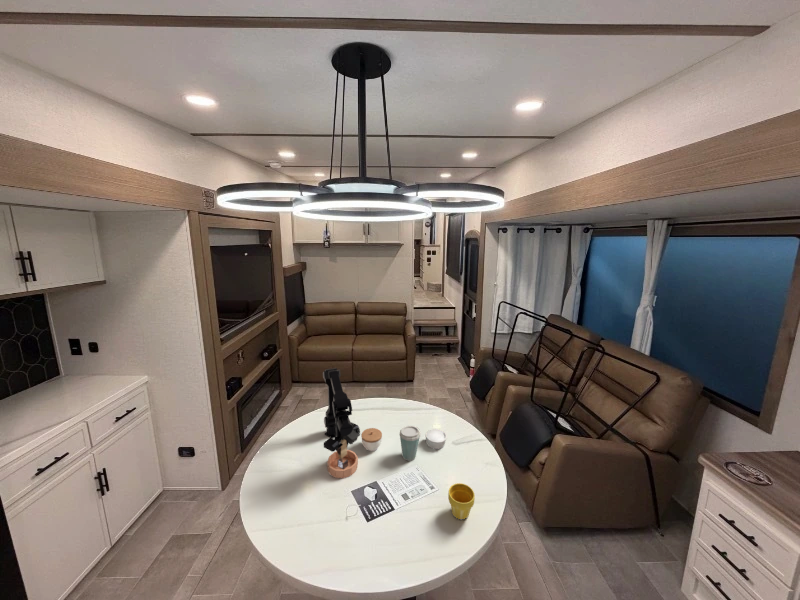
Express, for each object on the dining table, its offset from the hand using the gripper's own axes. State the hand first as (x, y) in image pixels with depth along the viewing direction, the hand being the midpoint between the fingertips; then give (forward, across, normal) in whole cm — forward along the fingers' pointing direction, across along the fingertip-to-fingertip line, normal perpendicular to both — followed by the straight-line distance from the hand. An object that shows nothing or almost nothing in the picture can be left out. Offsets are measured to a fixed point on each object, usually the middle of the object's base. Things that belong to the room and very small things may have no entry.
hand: (342, 451), depth 150 cm
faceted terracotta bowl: (+8, 0, 0) cm, 9 cm away
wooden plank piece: (+2, 0, 0) cm, 2 cm away
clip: (+8, 0, 0) cm, 9 cm away
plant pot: (+9, +7, -57) cm, 58 cm away
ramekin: (+9, +40, -30) cm, 51 cm away
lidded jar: (+9, +19, -3) cm, 21 cm away
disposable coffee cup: (+9, +24, -23) cm, 34 cm away
